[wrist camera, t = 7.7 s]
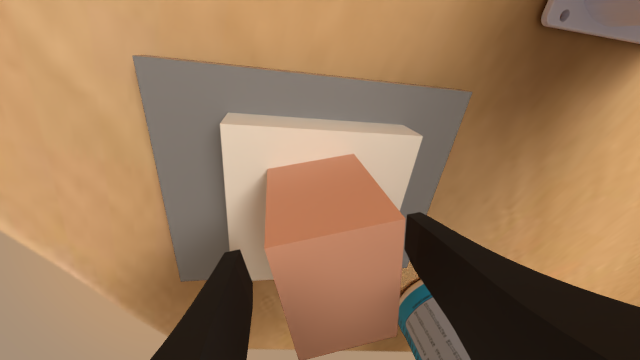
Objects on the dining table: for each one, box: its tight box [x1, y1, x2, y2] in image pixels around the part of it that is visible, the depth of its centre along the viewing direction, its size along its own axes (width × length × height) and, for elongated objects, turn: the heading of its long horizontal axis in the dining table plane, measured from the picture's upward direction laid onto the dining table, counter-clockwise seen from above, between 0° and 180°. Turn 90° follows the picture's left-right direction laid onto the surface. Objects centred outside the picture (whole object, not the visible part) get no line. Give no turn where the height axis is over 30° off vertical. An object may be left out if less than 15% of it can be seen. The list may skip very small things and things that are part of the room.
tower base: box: [132, 55, 472, 282], centre depth 14 cm, size 16×13×3 cm
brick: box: [264, 154, 406, 360], centre depth 10 cm, size 4×6×5 cm, turn 7°
